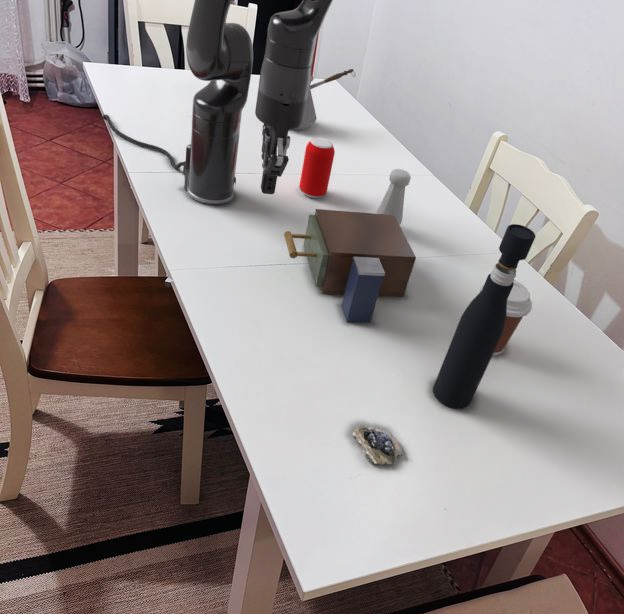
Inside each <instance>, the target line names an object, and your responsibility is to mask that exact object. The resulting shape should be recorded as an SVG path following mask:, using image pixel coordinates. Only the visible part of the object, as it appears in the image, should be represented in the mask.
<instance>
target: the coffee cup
mask: <svg viewBox="0 0 624 614" xmlns="http://www.w3.org/2000/svg"><path fill="white" fill-rule="evenodd" d="M513 284H514V285H513V288H512V290H511V292H510V295H509V297H508V299H507V314H506V321H505V326H504V330H503V333H502V335H501V338H500V340H499V342H498V344H497V346H496V349H495V351H494V353H493V355H492V356H498V355H501V354H502V353H503V352H504V351H505V348H506V346H507V345H508V343H509V341H510V339H511V338H512V336H513V335H514V332H515V331H516V329H517V327H518V326H519V324H520V322H521V320H523V318H524V317H526V316H528V314H530V313H531V311H532V309H533V302H532V299H531V293H530V292H529V290H528V288H527V287H526V286H525V285H524V284H523V283H521V282H519V281H517V280H516V279H514V282H513ZM483 286H484V284H483V285H482V286H481V287H480V289H479V293H480V292H481V291H482V289H483Z"/></svg>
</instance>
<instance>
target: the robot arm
mask: <svg viewBox="0 0 624 614" xmlns="http://www.w3.org/2000/svg"><path fill="white" fill-rule="evenodd" d="M232 2H233V0H194V3H193V6H192V12H191V16H190V20H189V26H188V29H187V36H186V42H185V43H186V44H185V45H186V46H185V47H186V48H185V52H186V61H187V64H188V68H189V70H190V72H191V74H192V75H193V76H194V77H195V78H196V79H198V80H199V81H204V82H205V81H206V82H208V84H207V85H205V86H204V87H202V88H201V89H199V91H197V92H196V93H195V94H194V96H193V99H192V112H191V132H190V143H189V144H187V145H186V147H185V160H184V161H180V162H178V163H177V164H176V163H175V161H174V158H173V156H172V155H171V153H170V152H169V151H167V150H165V149H164V148H161V147H159V146H157V145H153V144H150V143H147V142H142V141H139V140H137V139H134V138H132V137H130V136H128V135H126V134H124V133H123V132H121V131H120V130H118V129H117V128H116V127H115V125H114V124H113V123H112V120H111V118H110V116H109V115H108V114H103V116H102V119H103V120H105V119H106V121H107V122H106V123H107V124H108V126H109V128H110V129H111V130H112V131H113V132H114V133H116V134H117V135H118V136H120V137H122V138H123V139H125V140H127V141H129V142H131V143H132V144H135V145H138V146H141V147H145V148H148V149H152V150H155V151H158V152H160V153H162V154H164V155H165V156H166V158H167V159H168V160H169V163H170V166H171V167H172V168H173V169H175V170H178V169H180V168H181V167H183V169H182V175H183V176H184V183H183V184H184V186H183V189H184V190H185V191H186V192H187V194H188V196H189V197H190V198H191V199H193V200H194V201H197V202H198V203H202V204H206V205H224V204H227V203H230V202H231V201H232V200H233V199H234V194H235V191H234V190H235V186H236V185H237V177H236V171H237V162H238V152H239V144H240V143H239V142H240V133H241V123H242V115H243V114H242V113H243V110H244V108H245V107H246V104H247V102H248V96H249V90H250V89H249V88H250V84H251V79H252V72H253V65H254V64H253V63H254V46H253V41H252V39H251V36H250V34H249V32H248V30H247V29H246V28H245V27H244V26H243V25H241V24H240V23H235V22H227V18H228V14H229V9H230V7H231V5H232ZM333 2H334V0H302V1H301V3H300V4H299V5H298V6H297V7H296V8H295V9H292V10H286V11H280V12H276V13H275V14H273V15H272V16H271V17H270V18H269V21H268V22H269V23H268V26H267V33H266V34H267V36H266V42H265V49H264V55H263V60H262V64H261V68H260V72H259V80H258V87H257V95H256V97H257V98H256V102H255V103H256V104H255V109H254V110H255V111H254V113H255V114H254V115H255V117H256V119H257V120H258V121H259V122H261V123H262V124H263V125H262V131H261V134H262V142H261V143H262V144H261V156H260V157H261V160H262V163H261V166H262V169H263V170H262V176H261V182H260V190H261V193H262V194H264V195H274V194H275V193H276V187H277V181H278V177H279V178H281V177H282V175H283V173H284V171H285V169H286V168H287V165H288V164H289V163H288V162H289V155H287V151H288V149H289V148H290V144H291V136H290V135H289V131H290V130H291V129H293V128H294V129H295V128H298V127H300V126H301V125H302V123H303V119H304V114H305V108H306V103H307V97H308V92H309V86H310V85H311V84H310V80H311V76H312V67H313V66H312V65H313V59H314V55H315V49H316V43H317V38H318V35H319V33H320V30H321V29H322V26H323V23H324V22H325V18H326V16H327V14H328V12H329V10H330V7H331V6H332V4H333ZM291 131H292V130H291Z"/></svg>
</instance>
